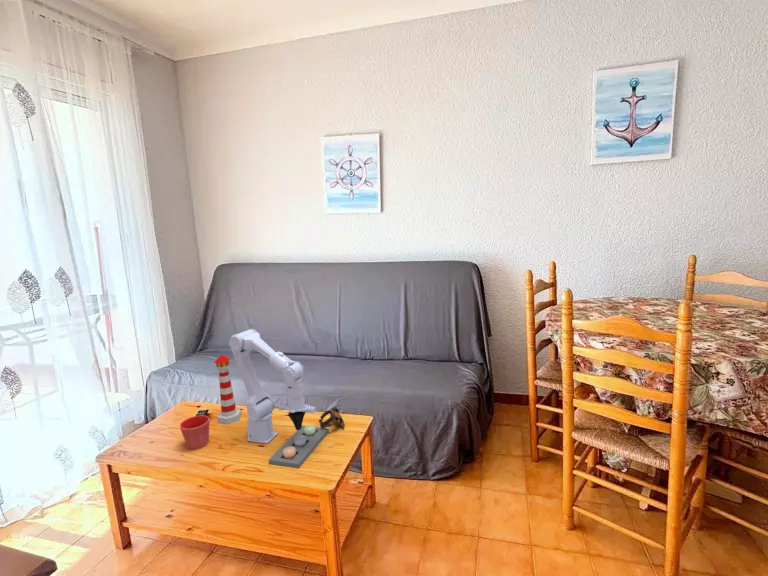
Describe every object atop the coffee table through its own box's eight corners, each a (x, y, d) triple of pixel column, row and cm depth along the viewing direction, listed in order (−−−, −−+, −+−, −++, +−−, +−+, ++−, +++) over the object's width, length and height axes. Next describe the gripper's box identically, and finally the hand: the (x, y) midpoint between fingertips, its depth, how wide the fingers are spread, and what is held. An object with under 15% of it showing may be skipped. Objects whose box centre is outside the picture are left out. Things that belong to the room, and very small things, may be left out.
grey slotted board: (268, 463, 149) (268, 459, 148) (302, 428, 172) (302, 425, 172) (298, 468, 145) (298, 464, 145) (328, 431, 168) (328, 428, 168)
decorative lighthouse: (245, 415, 187) (238, 351, 182) (232, 425, 179) (223, 358, 174) (227, 412, 191) (219, 350, 185) (213, 422, 182) (204, 356, 177)
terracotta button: (281, 460, 150) (280, 452, 149) (287, 453, 154) (286, 445, 153) (292, 461, 148) (291, 453, 148) (298, 455, 152) (297, 447, 152)
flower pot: (180, 454, 158) (176, 430, 157) (186, 439, 169) (183, 417, 167) (209, 449, 161) (206, 426, 159) (214, 435, 171) (211, 413, 169)
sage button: (302, 437, 165) (302, 429, 164) (308, 431, 169) (307, 424, 168) (312, 438, 163) (312, 431, 163) (317, 432, 167) (317, 425, 167)
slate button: (292, 448, 157) (291, 440, 157) (298, 442, 161) (297, 434, 161) (303, 449, 156) (302, 441, 155) (308, 443, 160) (307, 435, 159)
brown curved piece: (344, 433, 167) (333, 419, 165) (325, 441, 170) (314, 428, 167) (348, 413, 178) (338, 399, 175) (330, 421, 181) (319, 407, 178)
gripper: (272, 398, 153) (276, 432, 156) (308, 401, 149) (311, 436, 151) (282, 390, 160) (286, 422, 162) (316, 393, 156) (319, 426, 158)
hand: (298, 428), depth 157 cm, fingers closed
